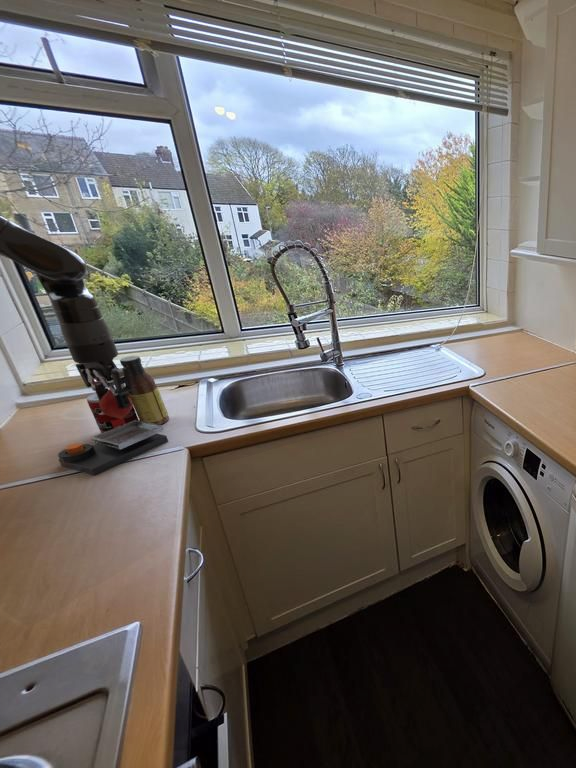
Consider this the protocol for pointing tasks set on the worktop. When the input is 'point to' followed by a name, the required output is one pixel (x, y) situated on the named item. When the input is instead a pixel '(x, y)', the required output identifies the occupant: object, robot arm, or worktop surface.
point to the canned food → (105, 420)
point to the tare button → (74, 448)
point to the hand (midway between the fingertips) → (116, 405)
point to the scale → (107, 455)
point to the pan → (127, 434)
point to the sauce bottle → (144, 392)
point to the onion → (113, 406)
